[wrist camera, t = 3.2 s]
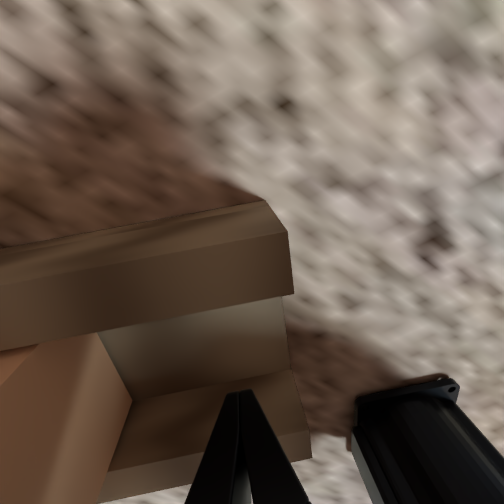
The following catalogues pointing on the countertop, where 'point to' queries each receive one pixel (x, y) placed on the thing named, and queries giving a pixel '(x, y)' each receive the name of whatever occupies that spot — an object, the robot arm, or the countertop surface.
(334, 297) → the countertop surface
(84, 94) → the countertop surface
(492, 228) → the countertop surface
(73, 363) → the block
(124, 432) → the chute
